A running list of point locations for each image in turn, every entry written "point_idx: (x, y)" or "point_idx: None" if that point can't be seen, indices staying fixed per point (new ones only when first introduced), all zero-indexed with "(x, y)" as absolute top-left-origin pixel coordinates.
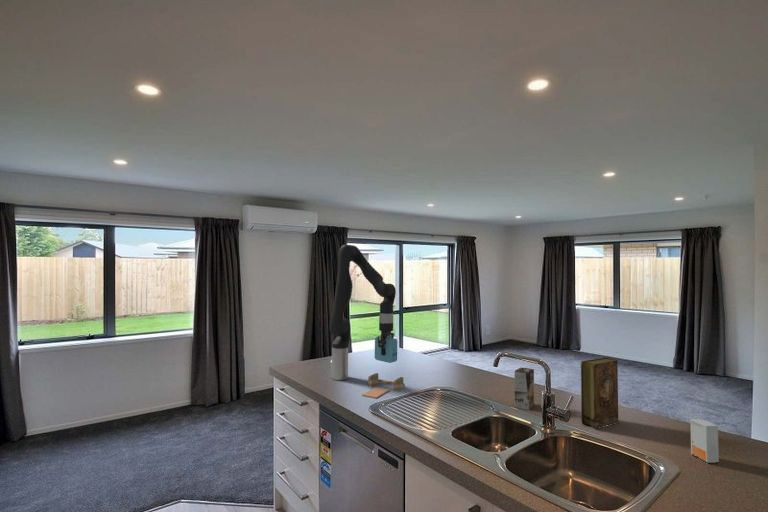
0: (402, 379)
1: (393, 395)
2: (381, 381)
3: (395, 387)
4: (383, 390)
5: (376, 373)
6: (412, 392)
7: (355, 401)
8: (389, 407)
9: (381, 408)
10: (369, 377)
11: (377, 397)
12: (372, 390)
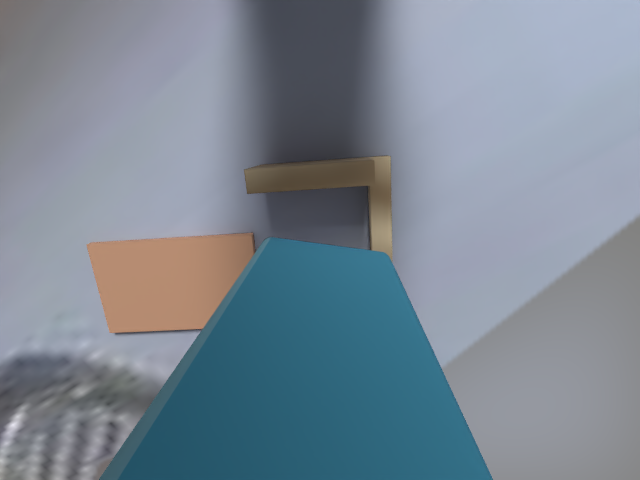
0: None
1: None
2: (369, 205)
3: None
4: None
5: (364, 171)
6: None
7: (5, 265)
8: (70, 430)
9: (35, 410)
10: (247, 179)
11: (125, 329)
12: (186, 253)
